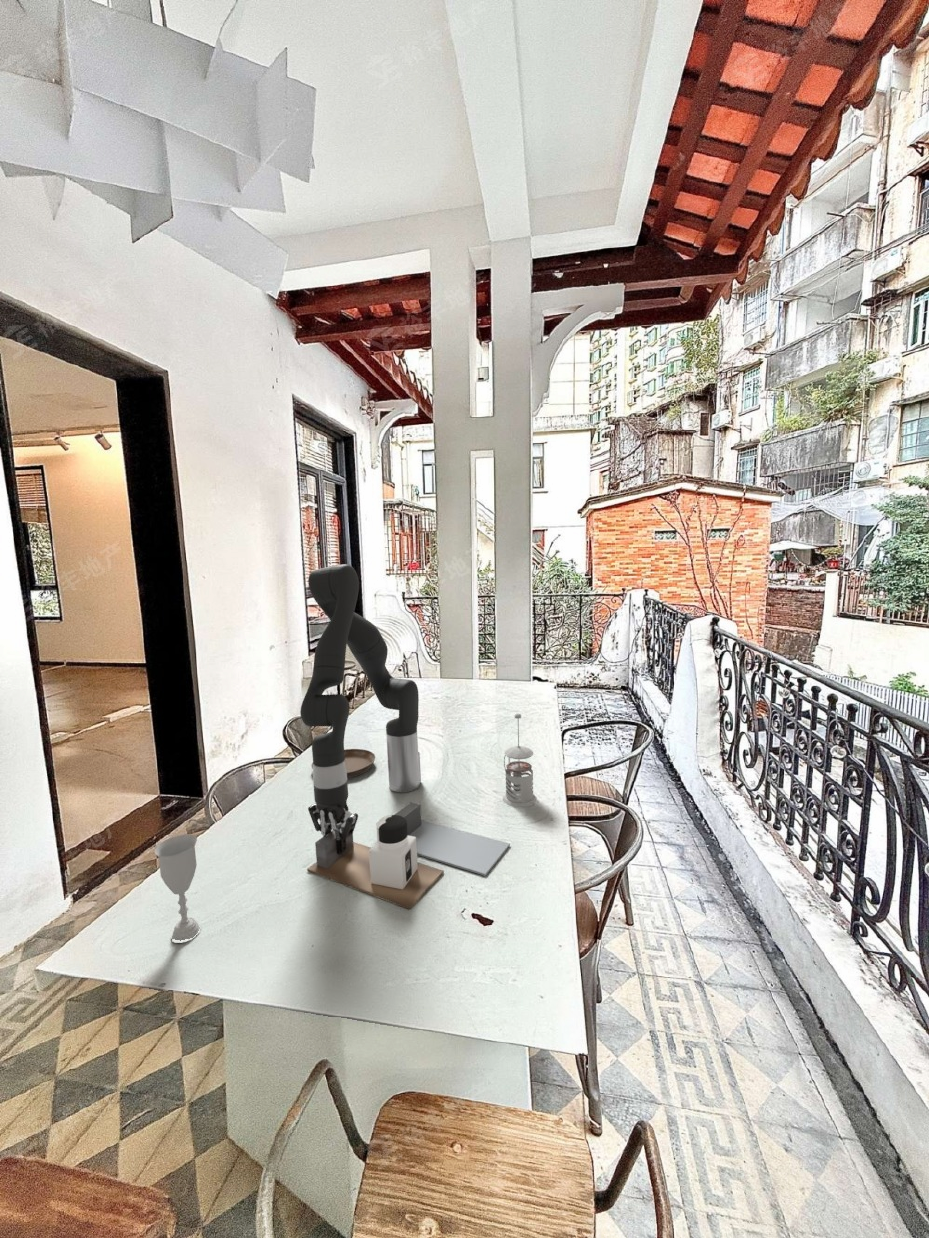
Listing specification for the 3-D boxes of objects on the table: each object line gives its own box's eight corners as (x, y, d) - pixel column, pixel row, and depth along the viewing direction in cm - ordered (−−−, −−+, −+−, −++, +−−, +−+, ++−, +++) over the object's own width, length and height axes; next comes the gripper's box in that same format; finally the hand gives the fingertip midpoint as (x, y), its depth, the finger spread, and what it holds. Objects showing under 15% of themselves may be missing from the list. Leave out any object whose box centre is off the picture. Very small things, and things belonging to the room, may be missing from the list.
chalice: (176, 921, 100) (166, 835, 98) (212, 918, 101) (203, 832, 99) (157, 950, 93) (146, 858, 91) (196, 946, 94) (186, 855, 91)
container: (418, 868, 114) (415, 813, 112) (403, 890, 106) (400, 831, 105) (387, 863, 116) (383, 808, 115) (370, 884, 109) (366, 826, 107)
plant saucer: (298, 778, 165) (297, 768, 165) (337, 754, 184) (336, 745, 184) (352, 787, 157) (352, 776, 157) (387, 761, 176) (386, 752, 176)
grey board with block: (413, 819, 136) (412, 797, 135) (509, 845, 122) (509, 821, 122) (382, 844, 125) (381, 821, 124) (485, 875, 111) (484, 850, 110)
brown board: (346, 841, 126) (345, 818, 126) (443, 872, 113) (442, 847, 112) (307, 870, 115) (305, 845, 114) (409, 909, 102) (408, 880, 101)
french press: (514, 810, 139) (512, 721, 136) (492, 793, 150) (490, 710, 146) (544, 801, 144) (542, 715, 141) (521, 785, 154) (519, 704, 151)
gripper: (365, 779, 117) (369, 849, 119) (319, 768, 124) (324, 835, 126) (342, 792, 111) (347, 867, 113) (295, 780, 117) (301, 851, 119)
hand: (335, 850), depth 119 cm, fingers closed on brown board, 3 cm apart
